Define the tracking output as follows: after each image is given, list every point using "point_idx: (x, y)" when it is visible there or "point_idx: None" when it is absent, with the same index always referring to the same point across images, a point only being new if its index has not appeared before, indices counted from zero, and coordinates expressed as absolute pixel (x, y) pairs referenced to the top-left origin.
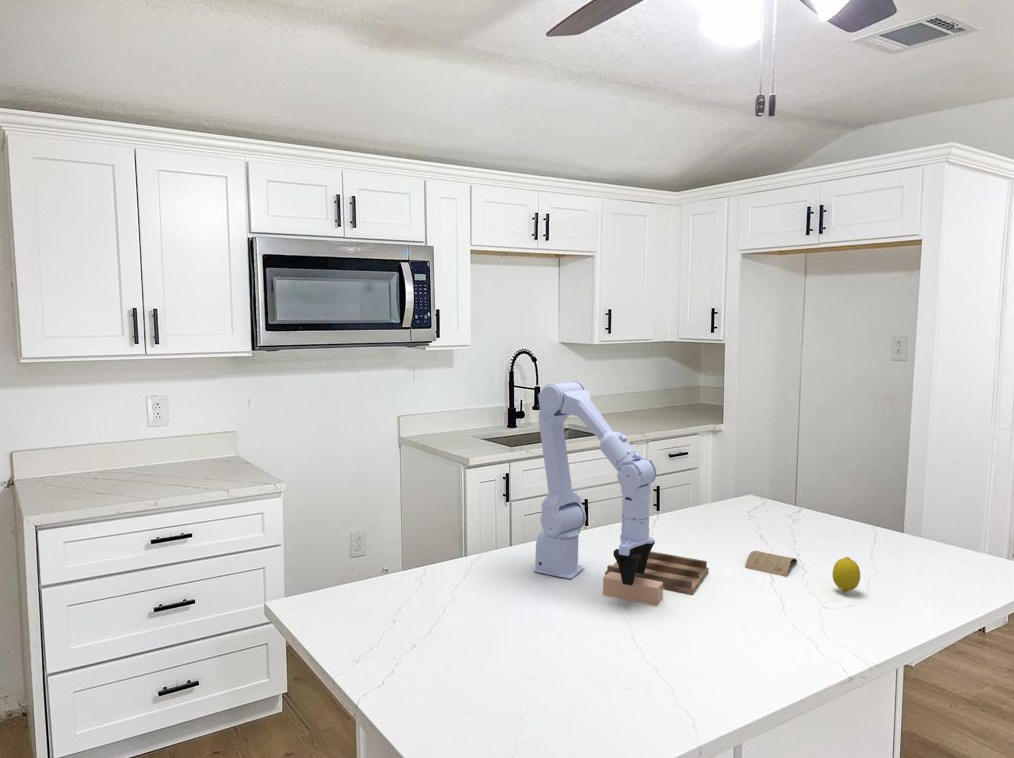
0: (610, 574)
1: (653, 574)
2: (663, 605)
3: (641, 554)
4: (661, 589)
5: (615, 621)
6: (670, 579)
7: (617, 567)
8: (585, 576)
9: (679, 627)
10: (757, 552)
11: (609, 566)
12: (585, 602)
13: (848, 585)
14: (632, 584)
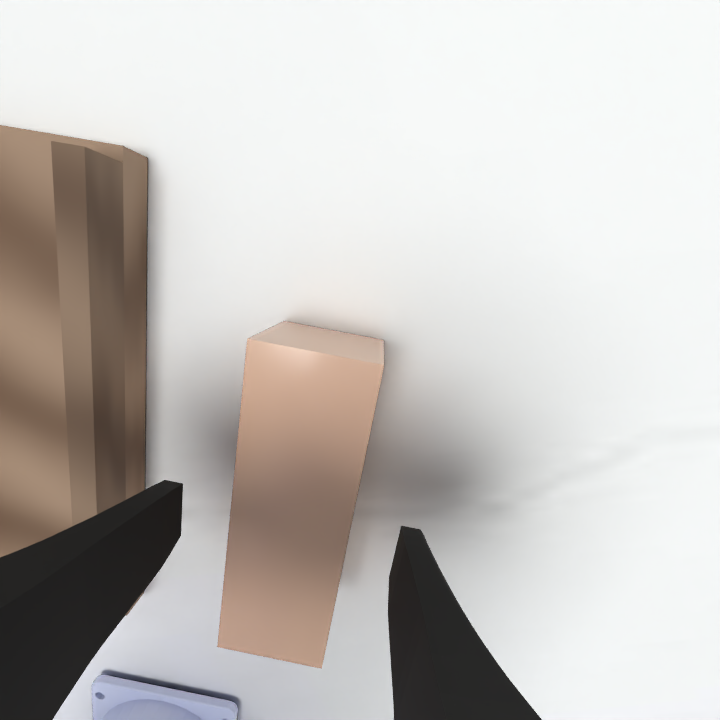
0: (262, 641)
1: (83, 411)
2: (366, 308)
3: (52, 629)
4: (299, 338)
5: (633, 503)
6: (96, 300)
7: None
8: (174, 656)
9: (653, 186)
10: None
11: None
12: None
13: None
14: (415, 531)
